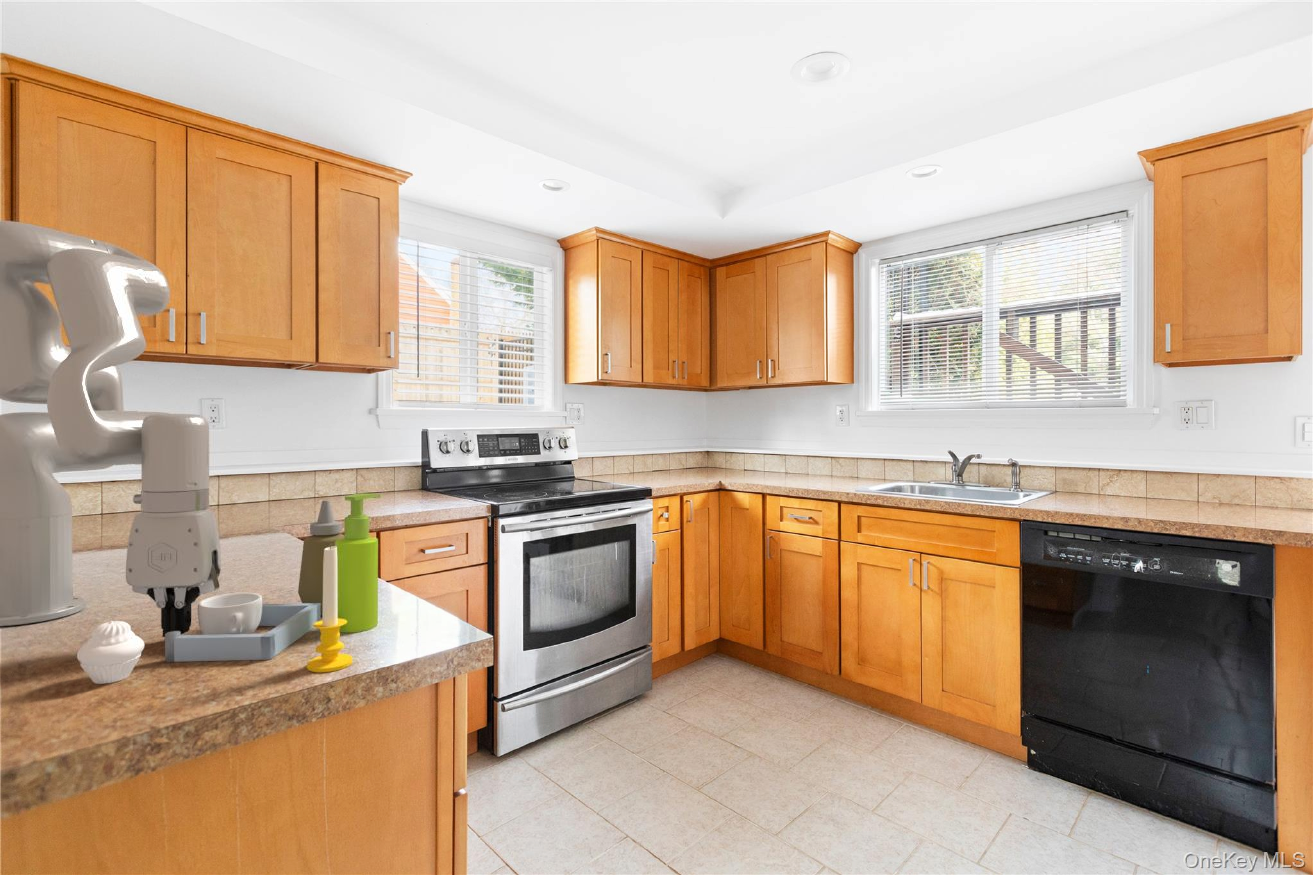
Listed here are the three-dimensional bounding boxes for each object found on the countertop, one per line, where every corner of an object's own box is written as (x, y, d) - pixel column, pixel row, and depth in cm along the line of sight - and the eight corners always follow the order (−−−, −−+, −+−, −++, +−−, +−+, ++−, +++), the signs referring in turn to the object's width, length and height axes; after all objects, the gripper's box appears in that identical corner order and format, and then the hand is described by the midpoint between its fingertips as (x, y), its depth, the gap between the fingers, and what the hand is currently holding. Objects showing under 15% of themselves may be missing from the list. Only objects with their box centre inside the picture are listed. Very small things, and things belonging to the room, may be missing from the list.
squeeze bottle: (363, 604, 108) (363, 498, 108) (334, 619, 100) (334, 504, 100) (318, 602, 109) (318, 497, 109) (286, 617, 101) (286, 503, 101)
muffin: (125, 687, 74) (125, 627, 74) (63, 691, 73) (63, 630, 73) (155, 667, 80) (155, 611, 80) (98, 670, 79) (98, 614, 79)
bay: (162, 662, 82) (162, 635, 82) (231, 623, 97) (231, 600, 97) (269, 660, 83) (269, 633, 83) (321, 622, 99) (321, 599, 99)
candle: (323, 675, 78) (324, 548, 78) (297, 667, 81) (298, 544, 80) (361, 662, 83) (362, 542, 82) (336, 654, 85) (336, 538, 85)
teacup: (193, 635, 92) (193, 598, 92) (255, 625, 97) (256, 589, 97) (204, 655, 84) (204, 614, 84) (271, 642, 90) (271, 604, 89)
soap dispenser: (391, 621, 100) (391, 492, 99) (356, 634, 93) (357, 497, 93) (361, 616, 102) (361, 491, 101) (325, 629, 95) (325, 495, 95)
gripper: (97, 506, 84) (97, 644, 85) (217, 506, 86) (217, 642, 86) (137, 499, 92) (138, 626, 92) (247, 499, 93) (247, 624, 94)
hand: (176, 633), depth 89 cm, fingers closed
